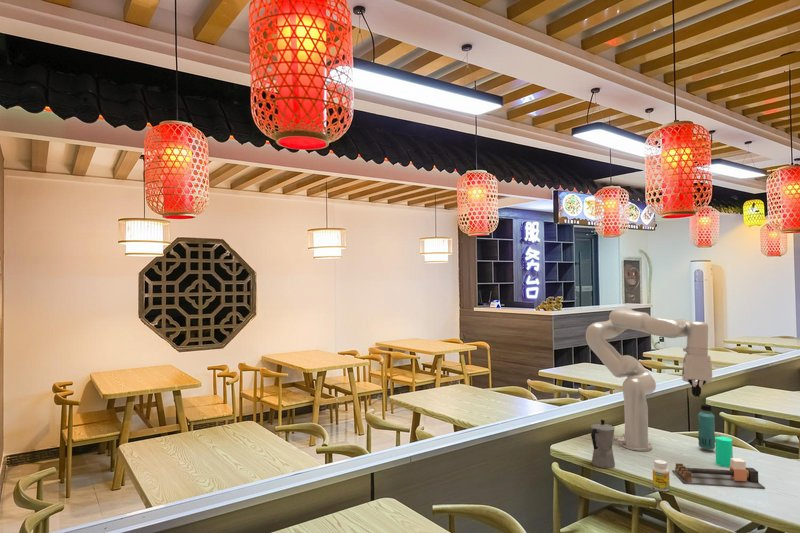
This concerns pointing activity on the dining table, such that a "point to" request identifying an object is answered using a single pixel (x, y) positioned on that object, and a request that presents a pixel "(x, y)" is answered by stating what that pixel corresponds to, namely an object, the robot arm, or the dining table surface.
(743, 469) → the orange block
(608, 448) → the coffeepot
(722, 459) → the candle
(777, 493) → the dining table surface
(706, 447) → the beverage bottle
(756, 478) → the linear slide rail
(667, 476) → the supplement bottle
